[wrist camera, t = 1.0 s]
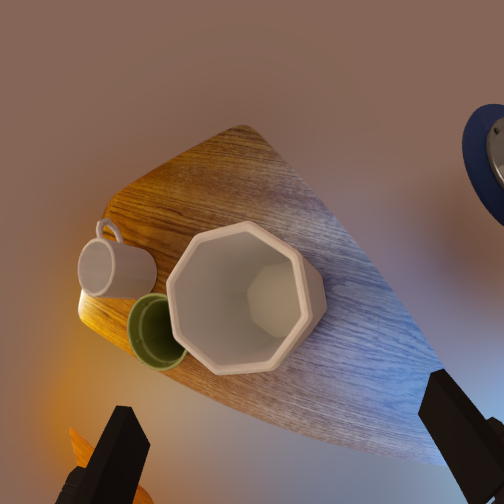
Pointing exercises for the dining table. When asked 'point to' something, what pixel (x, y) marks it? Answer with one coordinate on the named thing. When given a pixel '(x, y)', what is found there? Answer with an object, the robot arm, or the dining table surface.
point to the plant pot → (154, 333)
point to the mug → (115, 267)
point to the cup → (243, 299)
